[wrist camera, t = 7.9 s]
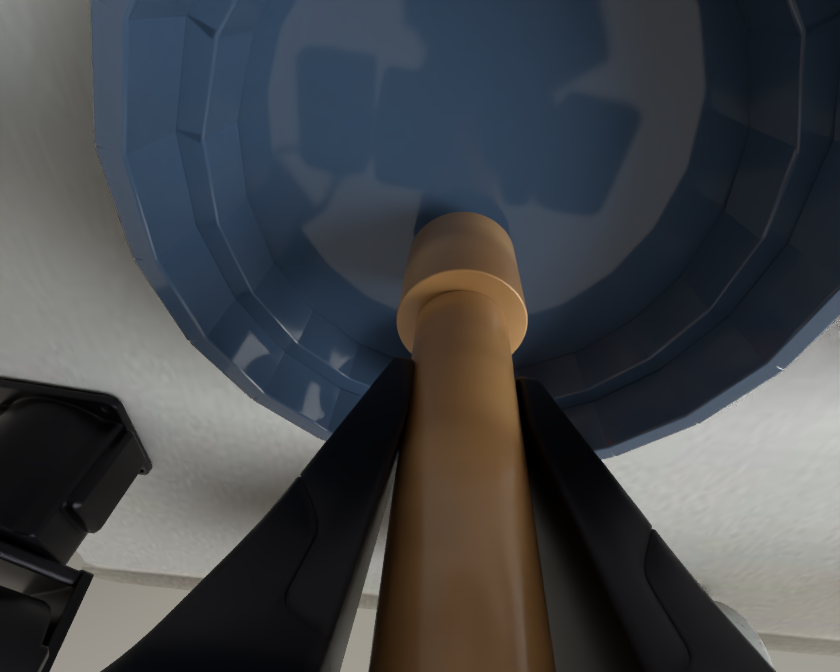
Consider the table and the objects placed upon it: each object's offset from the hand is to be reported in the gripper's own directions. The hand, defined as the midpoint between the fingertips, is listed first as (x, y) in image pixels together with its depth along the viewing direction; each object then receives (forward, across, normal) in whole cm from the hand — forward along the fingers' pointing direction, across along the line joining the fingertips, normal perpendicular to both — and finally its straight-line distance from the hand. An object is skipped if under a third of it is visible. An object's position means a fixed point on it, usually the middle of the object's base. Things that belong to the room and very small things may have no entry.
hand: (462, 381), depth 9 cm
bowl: (+6, 0, -2) cm, 7 cm away
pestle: (+5, 0, 0) cm, 5 cm away
